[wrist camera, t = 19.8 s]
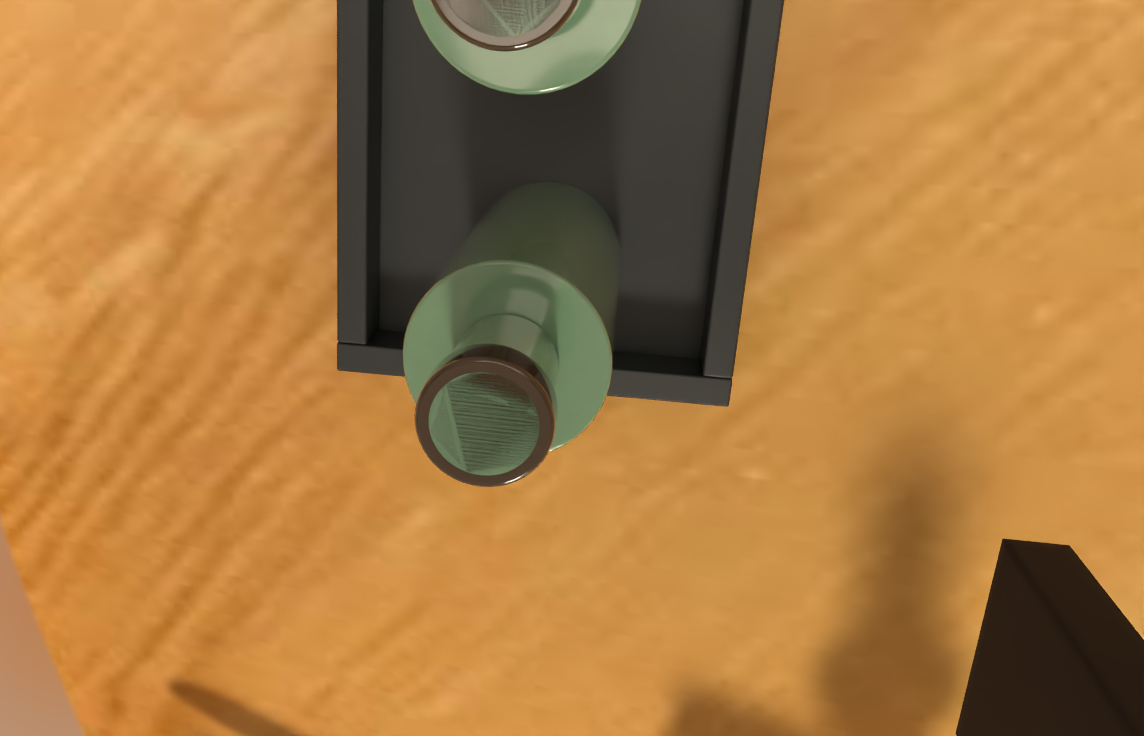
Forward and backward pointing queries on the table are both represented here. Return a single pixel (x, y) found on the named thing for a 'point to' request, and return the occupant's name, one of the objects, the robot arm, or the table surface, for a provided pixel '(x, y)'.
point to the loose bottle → (516, 335)
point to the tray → (561, 178)
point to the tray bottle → (527, 39)
